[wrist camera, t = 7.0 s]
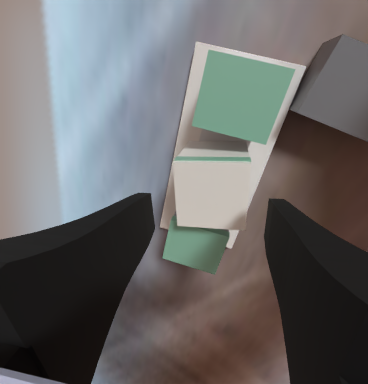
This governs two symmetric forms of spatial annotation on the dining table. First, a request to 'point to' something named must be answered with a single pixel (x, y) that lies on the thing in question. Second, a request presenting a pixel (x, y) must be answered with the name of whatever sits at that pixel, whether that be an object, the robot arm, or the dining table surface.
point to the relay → (337, 87)
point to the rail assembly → (227, 133)
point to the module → (212, 184)
